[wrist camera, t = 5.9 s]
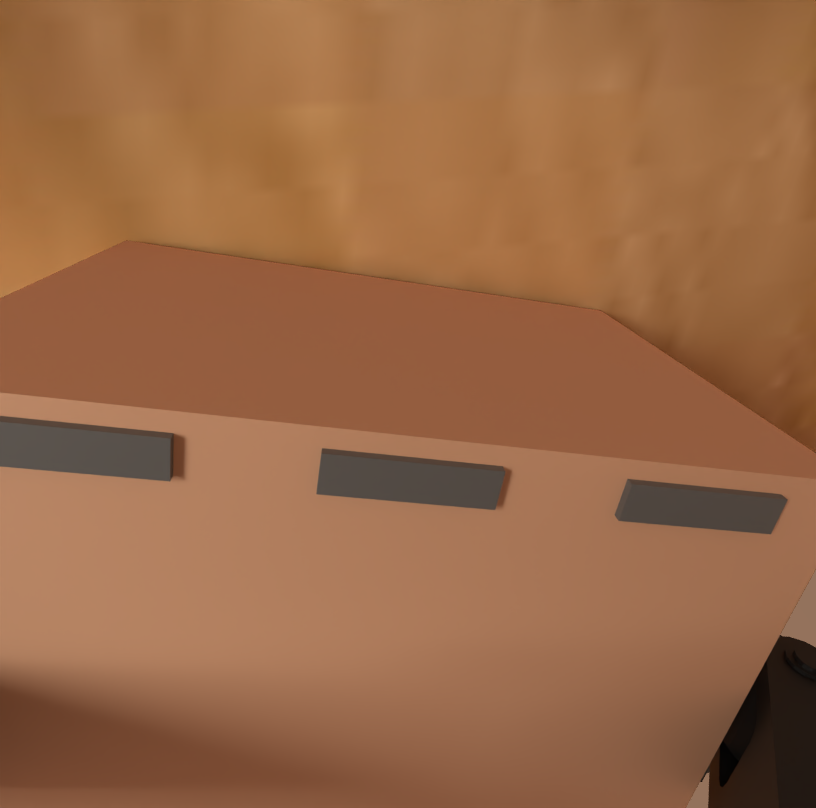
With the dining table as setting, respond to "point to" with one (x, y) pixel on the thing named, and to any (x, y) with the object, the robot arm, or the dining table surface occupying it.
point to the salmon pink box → (371, 545)
